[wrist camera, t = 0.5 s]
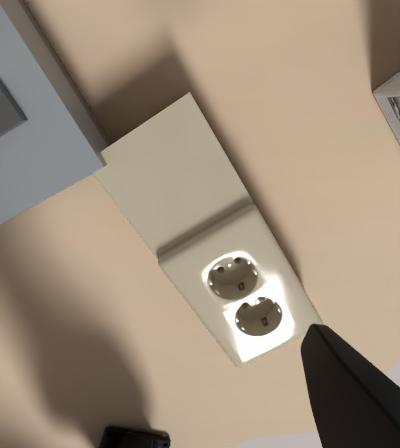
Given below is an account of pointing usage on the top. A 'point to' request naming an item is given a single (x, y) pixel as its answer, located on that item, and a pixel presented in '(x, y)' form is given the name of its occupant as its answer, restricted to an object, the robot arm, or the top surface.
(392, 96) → the light bulb box
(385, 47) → the top surface
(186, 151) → the electrical outlet
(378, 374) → the robot arm
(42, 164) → the grey block with pocket
